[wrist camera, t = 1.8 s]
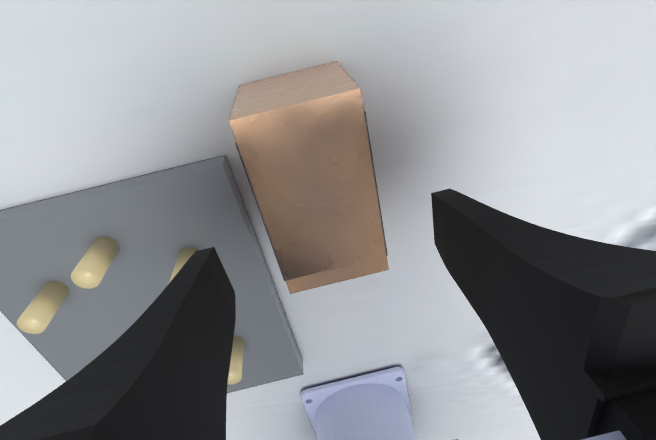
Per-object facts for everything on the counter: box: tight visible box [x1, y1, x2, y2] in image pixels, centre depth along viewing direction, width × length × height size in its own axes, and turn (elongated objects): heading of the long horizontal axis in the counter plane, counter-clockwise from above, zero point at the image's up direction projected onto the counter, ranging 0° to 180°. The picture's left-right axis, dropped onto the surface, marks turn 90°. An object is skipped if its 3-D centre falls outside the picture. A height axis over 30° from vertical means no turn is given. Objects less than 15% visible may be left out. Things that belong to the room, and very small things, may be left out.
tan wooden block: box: [229, 61, 389, 294], centre depth 17 cm, size 8×5×6 cm, turn 12°
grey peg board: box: [0, 155, 303, 393], centre depth 22 cm, size 16×14×4 cm
